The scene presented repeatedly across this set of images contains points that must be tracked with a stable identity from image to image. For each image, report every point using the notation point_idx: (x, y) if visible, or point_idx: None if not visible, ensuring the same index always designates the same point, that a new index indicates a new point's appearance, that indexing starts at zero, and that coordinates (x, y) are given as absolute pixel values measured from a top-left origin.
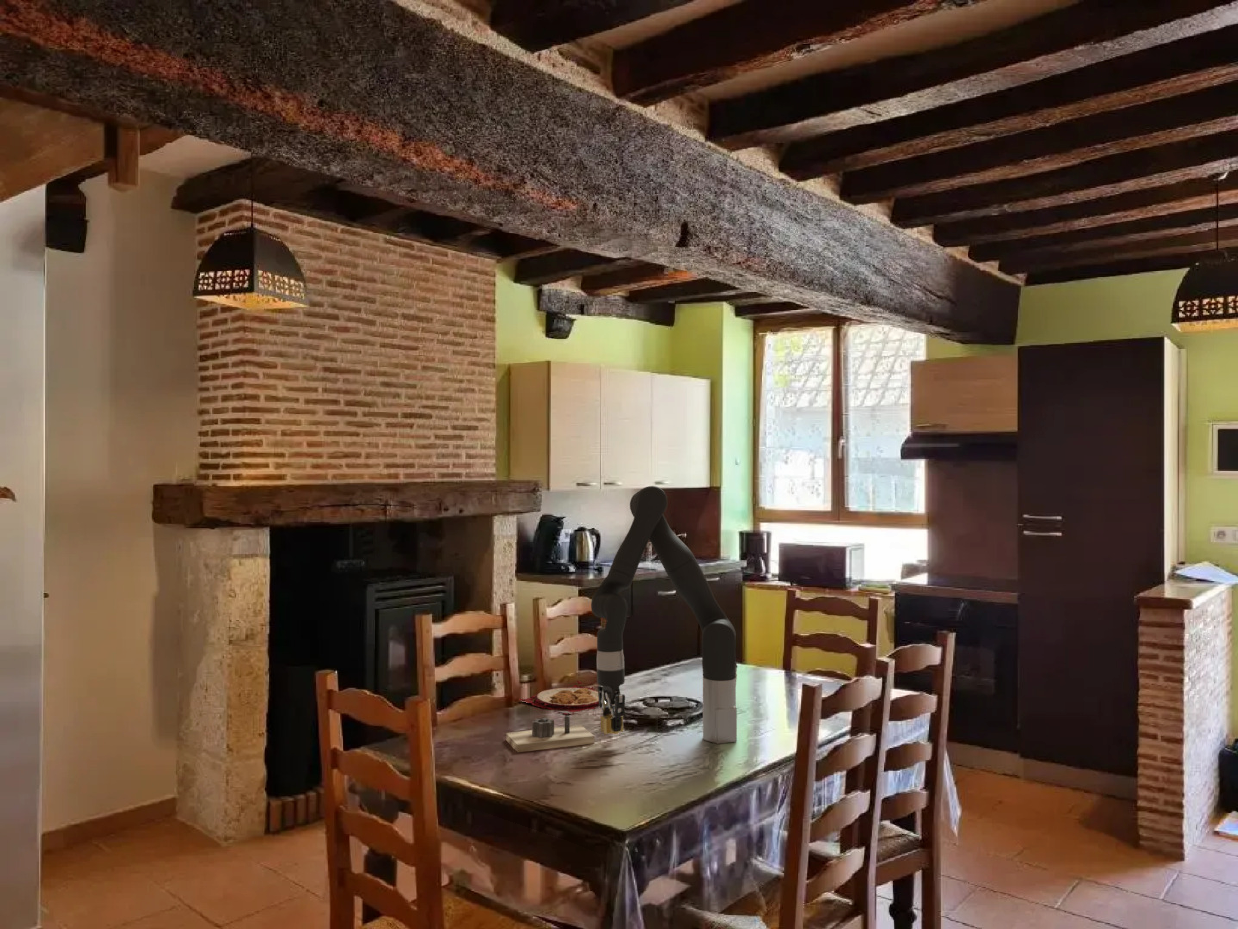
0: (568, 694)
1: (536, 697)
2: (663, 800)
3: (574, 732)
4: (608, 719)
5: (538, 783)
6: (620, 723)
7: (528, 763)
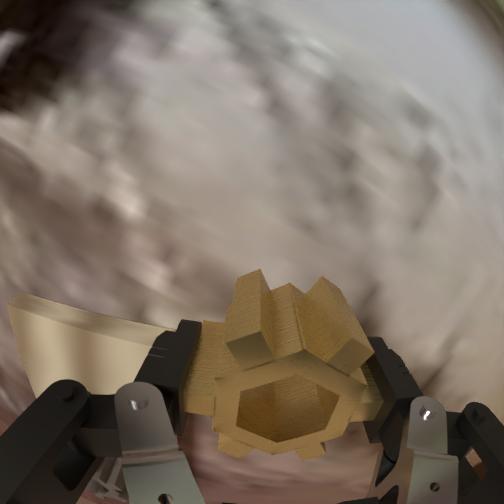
0: None
1: None
2: None
3: (91, 380)
4: (319, 436)
5: None
6: (395, 365)
7: (272, 497)
